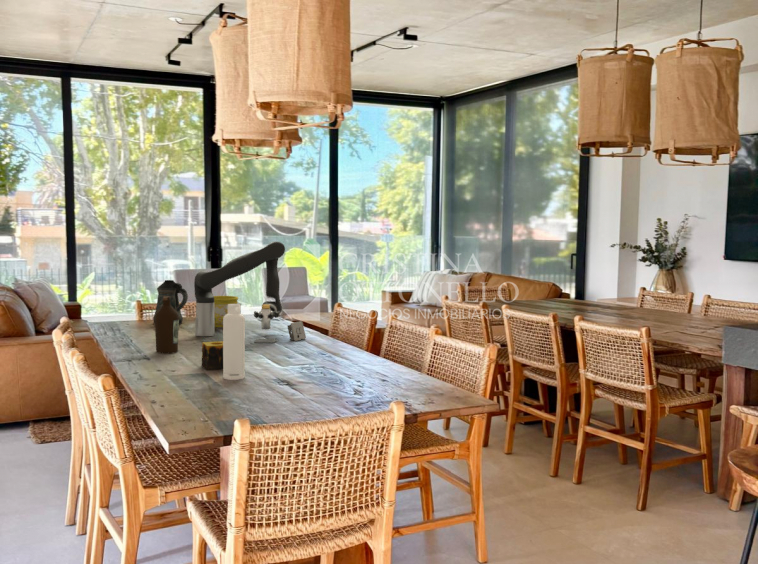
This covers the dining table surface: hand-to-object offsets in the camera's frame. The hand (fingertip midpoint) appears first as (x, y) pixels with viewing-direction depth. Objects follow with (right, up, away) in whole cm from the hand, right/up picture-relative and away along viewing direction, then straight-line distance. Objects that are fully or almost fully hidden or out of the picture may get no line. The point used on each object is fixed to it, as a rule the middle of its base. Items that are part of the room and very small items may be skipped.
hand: (265, 316), depth 349 cm
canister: (0, -6, +3) cm, 7 cm away
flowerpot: (-33, -8, +54) cm, 64 cm away
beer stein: (-65, -7, +61) cm, 89 cm away
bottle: (+1, -20, -79) cm, 82 cm away
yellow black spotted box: (-10, -18, -61) cm, 64 cm away
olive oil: (-40, -15, -28) cm, 51 cm away
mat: (-1, -13, +4) cm, 13 cm away
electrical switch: (+14, -13, +10) cm, 22 cm away
